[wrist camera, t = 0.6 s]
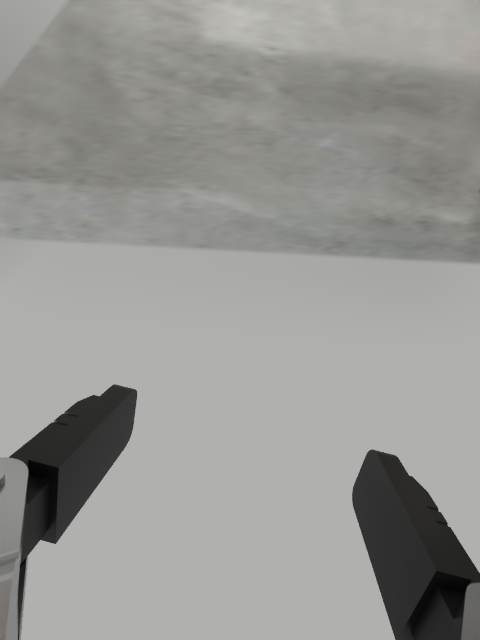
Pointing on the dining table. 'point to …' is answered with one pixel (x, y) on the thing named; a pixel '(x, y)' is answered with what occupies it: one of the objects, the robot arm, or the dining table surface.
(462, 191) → the dining table surface
